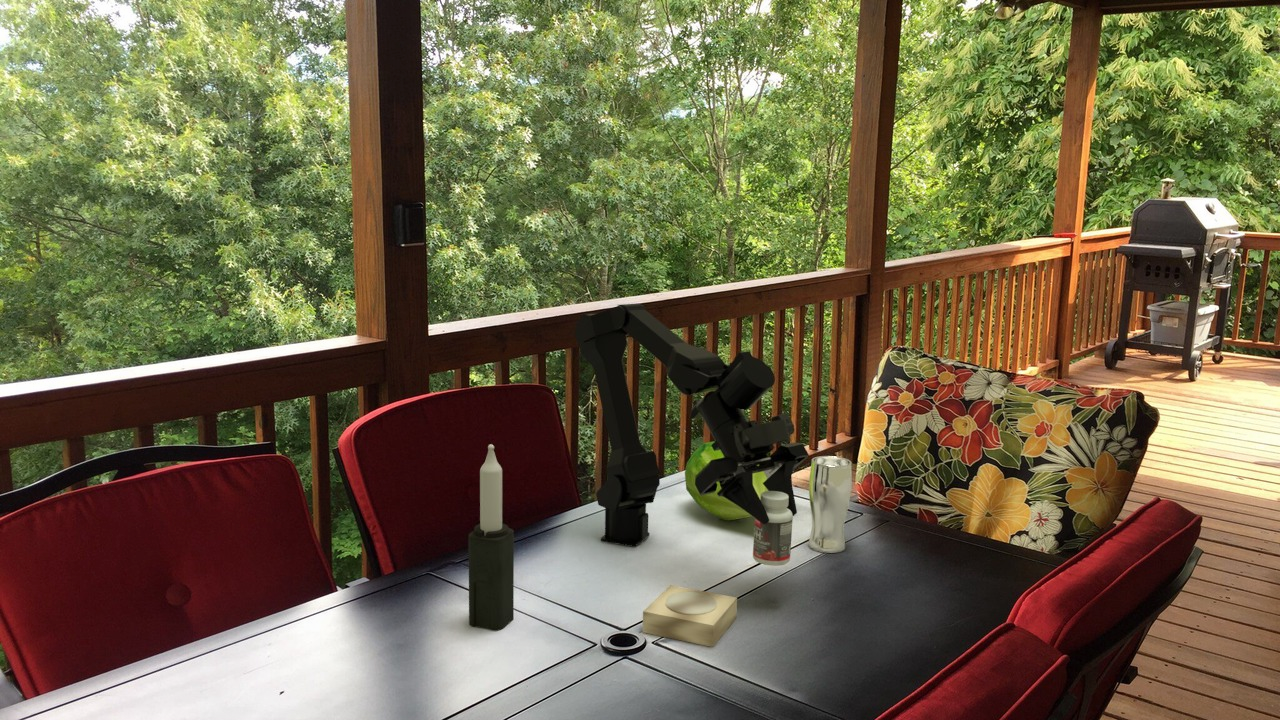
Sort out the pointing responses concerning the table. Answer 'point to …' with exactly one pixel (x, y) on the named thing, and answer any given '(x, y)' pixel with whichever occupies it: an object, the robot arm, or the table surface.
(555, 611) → the table surface
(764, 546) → the pill bottle
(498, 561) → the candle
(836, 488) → the beer glass
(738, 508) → the lettuce
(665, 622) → the pedestal
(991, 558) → the table surface
